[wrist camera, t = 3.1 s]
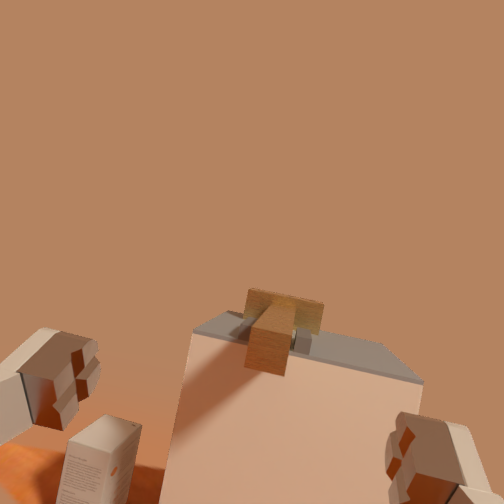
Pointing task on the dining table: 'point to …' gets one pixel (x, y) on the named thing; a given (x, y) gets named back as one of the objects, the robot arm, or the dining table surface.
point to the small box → (100, 463)
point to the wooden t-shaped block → (277, 327)
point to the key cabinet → (285, 420)
